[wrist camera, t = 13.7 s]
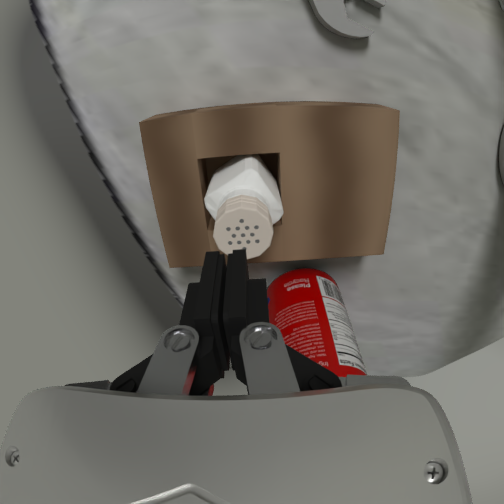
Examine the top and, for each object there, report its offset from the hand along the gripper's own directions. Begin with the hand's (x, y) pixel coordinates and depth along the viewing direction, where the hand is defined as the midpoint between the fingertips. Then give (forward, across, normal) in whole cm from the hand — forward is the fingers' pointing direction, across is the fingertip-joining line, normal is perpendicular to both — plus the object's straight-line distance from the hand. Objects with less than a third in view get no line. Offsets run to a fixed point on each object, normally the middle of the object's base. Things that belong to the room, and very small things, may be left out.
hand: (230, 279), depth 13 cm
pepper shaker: (+13, -1, 0) cm, 13 cm away
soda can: (+14, -5, +13) cm, 20 cm away
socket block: (+14, -3, 0) cm, 14 cm away
